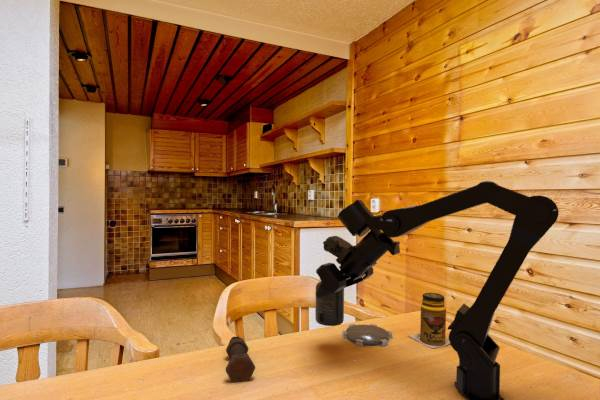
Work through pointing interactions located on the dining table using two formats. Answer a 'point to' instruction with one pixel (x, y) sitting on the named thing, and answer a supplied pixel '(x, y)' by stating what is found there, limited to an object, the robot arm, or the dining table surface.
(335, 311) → the supplement bottle
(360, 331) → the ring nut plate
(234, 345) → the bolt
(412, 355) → the dining table surface
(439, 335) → the condiment
